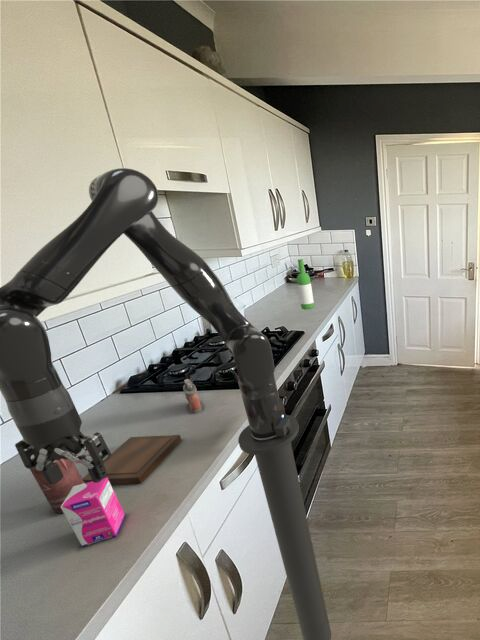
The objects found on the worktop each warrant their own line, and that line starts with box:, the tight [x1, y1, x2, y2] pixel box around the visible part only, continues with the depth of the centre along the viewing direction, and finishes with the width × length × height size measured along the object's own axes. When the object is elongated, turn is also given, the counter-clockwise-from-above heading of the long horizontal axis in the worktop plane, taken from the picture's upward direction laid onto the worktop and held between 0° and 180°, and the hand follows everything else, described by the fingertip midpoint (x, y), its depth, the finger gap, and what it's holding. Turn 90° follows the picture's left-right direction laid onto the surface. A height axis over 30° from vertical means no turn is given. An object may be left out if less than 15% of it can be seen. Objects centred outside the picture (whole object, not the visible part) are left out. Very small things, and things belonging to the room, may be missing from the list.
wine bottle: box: [296, 258, 315, 310], centre depth 210 cm, size 8×8×30 cm
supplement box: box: [61, 478, 126, 548], centre depth 72 cm, size 6×6×12 cm
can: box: [29, 456, 84, 514], centre depth 79 cm, size 6×6×14 cm
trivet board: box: [82, 434, 182, 486], centre depth 93 cm, size 14×16×2 cm
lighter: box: [182, 378, 203, 414], centre depth 115 cm, size 8×3×10 cm, turn 43°
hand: (78, 480), depth 69 cm, fingers open, 8 cm apart
